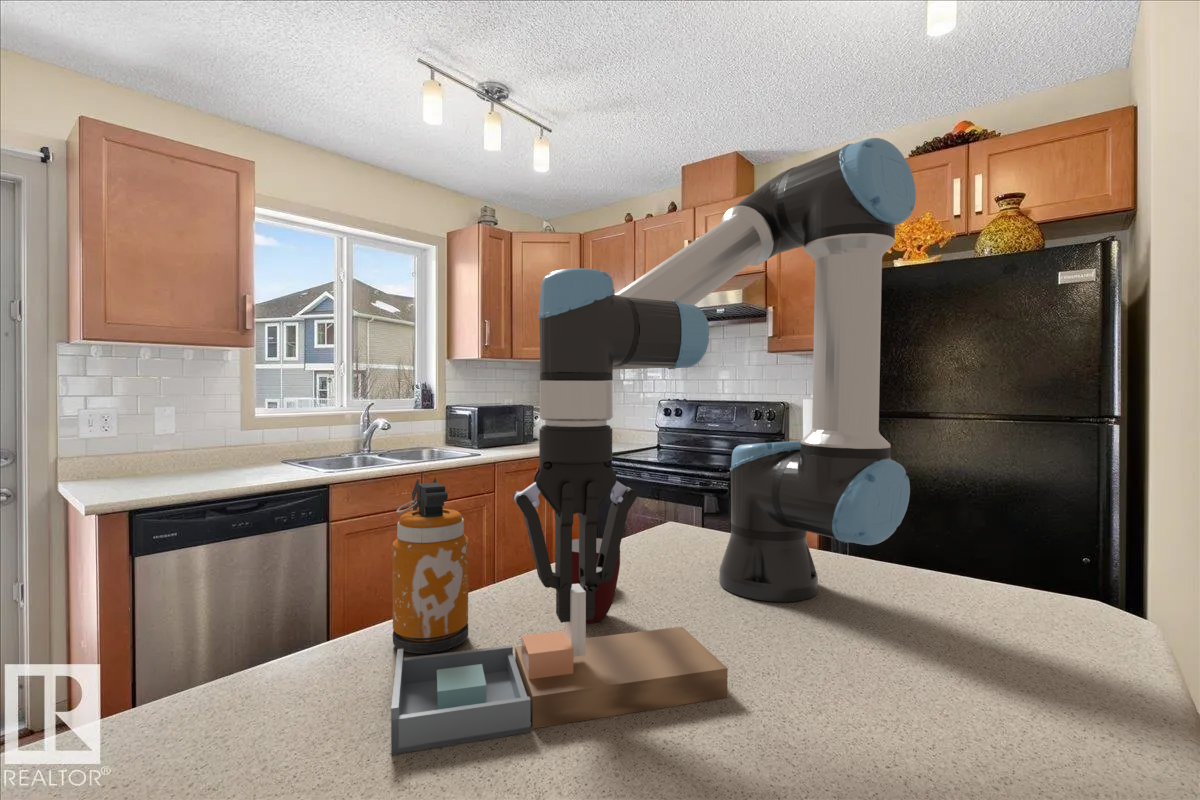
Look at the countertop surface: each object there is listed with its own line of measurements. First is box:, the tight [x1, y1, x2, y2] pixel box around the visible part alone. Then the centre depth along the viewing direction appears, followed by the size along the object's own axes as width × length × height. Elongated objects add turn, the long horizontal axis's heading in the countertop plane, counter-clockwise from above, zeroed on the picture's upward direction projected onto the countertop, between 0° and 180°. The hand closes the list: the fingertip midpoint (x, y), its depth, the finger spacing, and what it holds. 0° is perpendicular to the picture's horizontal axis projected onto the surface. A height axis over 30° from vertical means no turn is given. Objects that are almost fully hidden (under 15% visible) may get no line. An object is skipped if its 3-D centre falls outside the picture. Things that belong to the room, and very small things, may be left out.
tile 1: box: [437, 664, 486, 710], centre depth 58 cm, size 4×4×2 cm
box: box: [390, 644, 531, 756], centre depth 58 cm, size 12×12×4 cm
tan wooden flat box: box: [514, 626, 729, 730], centre depth 63 cm, size 20×11×3 cm, turn 106°
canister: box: [392, 477, 469, 655], centre depth 74 cm, size 9×11×20 cm
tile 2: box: [520, 630, 573, 679], centre depth 60 cm, size 4×4×2 cm
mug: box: [572, 537, 621, 624], centre depth 80 cm, size 11×8×10 cm
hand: (575, 650), depth 61 cm, fingers closed
